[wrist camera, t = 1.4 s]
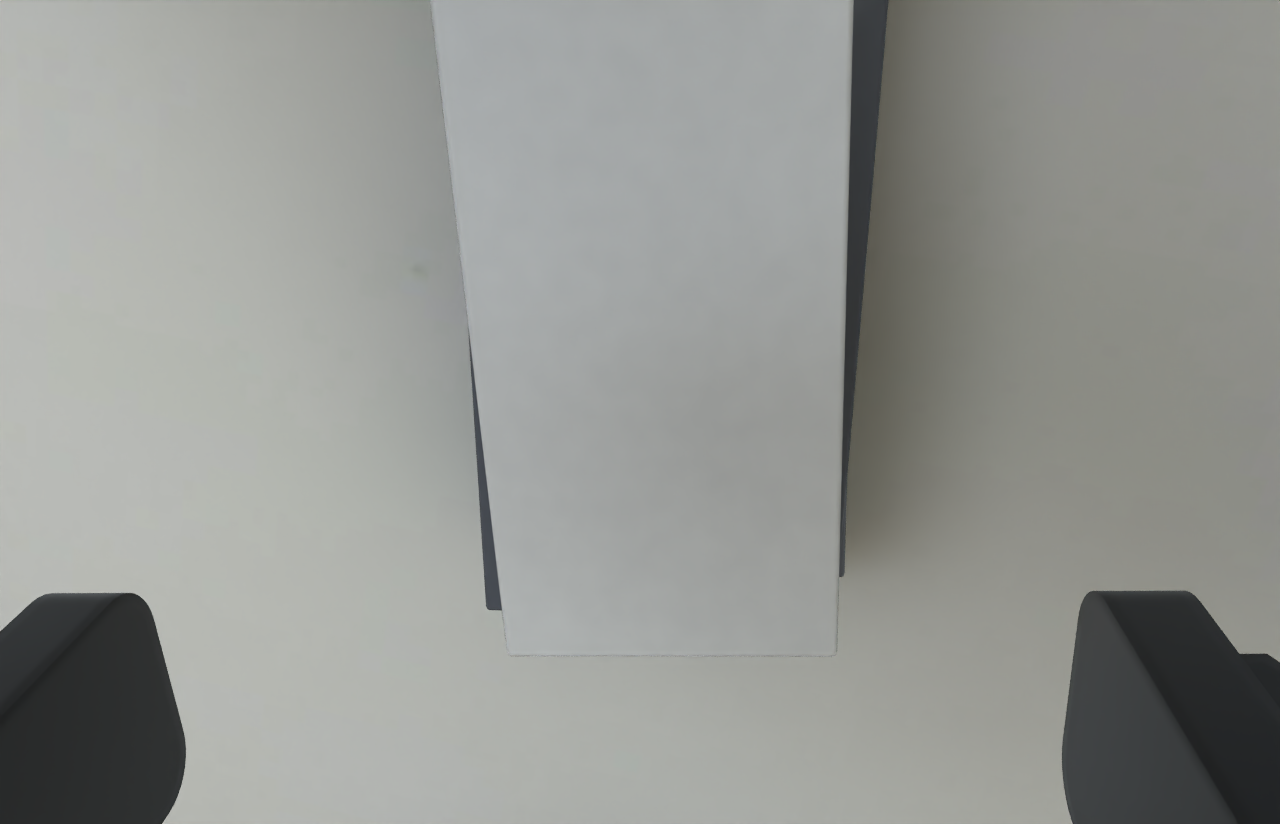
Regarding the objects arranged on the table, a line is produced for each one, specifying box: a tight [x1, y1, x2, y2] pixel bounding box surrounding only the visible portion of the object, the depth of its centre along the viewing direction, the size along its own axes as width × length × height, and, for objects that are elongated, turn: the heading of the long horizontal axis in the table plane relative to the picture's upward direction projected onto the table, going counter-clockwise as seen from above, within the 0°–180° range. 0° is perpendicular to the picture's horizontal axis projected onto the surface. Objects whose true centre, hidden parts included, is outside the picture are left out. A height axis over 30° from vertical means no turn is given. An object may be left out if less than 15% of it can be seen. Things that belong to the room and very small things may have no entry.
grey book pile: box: [468, 0, 888, 610], centre depth 20 cm, size 13×8×3 cm, turn 3°
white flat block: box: [430, 0, 854, 656], centre depth 18 cm, size 12×6×2 cm, turn 3°
